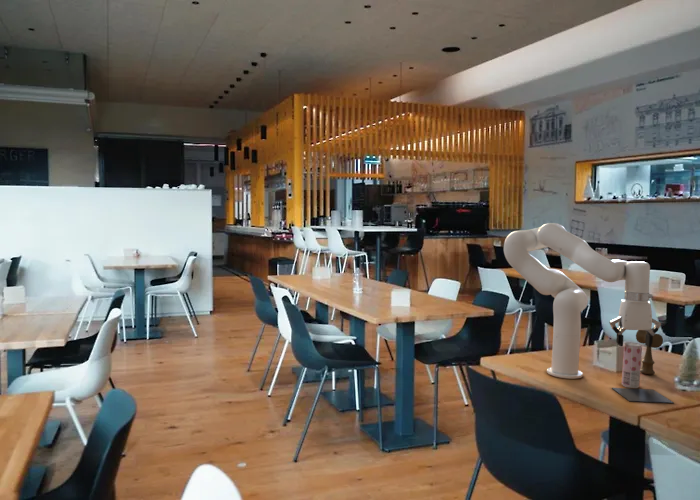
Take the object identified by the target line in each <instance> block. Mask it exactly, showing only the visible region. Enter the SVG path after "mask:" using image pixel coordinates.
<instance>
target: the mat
mask: <svg viewBox="0 0 700 500" xmlns="http://www.w3.org/2000/svg"><path fill="white" fill-rule="evenodd" d="M611 389H612V390H613V391H614V392H615V393H617V394H618V395H620V396H621V397H622V398H623V399H625V400H626V401H628V402H629V403H652V404H675V403H674V402H673V401H672V400H671V399H669V398H668V397H666V396H664V395H662V393H659V392H658V391H656V390H655V389H650V388H649V389H648V388H647V389H646V388H628V387H612V388H611Z"/></svg>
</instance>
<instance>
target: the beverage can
mask: <svg viewBox="0 0 700 500" xmlns="http://www.w3.org/2000/svg"><path fill="white" fill-rule="evenodd" d="M642 345H643V344H642V343H639V342H632V341H630V342H629V341H628V342H627V341H626V342H624V344H623V355H622V357H623V358H622V368H621V369H622V370H621V371H622V372H621V385H622V387H623V388H629V389H639V388H640V385H641V372H640V370H641V369H642V354H643V352H642V351H643V347H642Z"/></svg>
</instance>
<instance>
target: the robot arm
mask: <svg viewBox="0 0 700 500" xmlns="http://www.w3.org/2000/svg"><path fill="white" fill-rule="evenodd" d="M547 248H549V249H551V250H552V251H554V252H556V253H558V254H559V255H561V256H563V257H565V258H566V259H569V260H570V261H572V262H573V263H574V264H575V265H577V266H579V267H580V268H581V269H583V270H584V271H586V272H588V273H589V274H591V275H592V276H595V277H596V278H598V279H600V280H602V281H604V282H607V283H615V282H619V281H625V283H624V299H621V300H620V301H621V302H620V305H619V310H618V316H617V317H615V318H614V319H612V320H609V321H608V323H609V325H610V328H611V329H612V330H613V332H614V333H615V334H616V338H615V339H616V340H615V341H616V344H617V346H619V347H624V332H626V330H627V331H638V330H645V331H646V332H647V334H646V339H645V343H644V345H645V346H646V347H647V346H648V347H651V344H652V343H653V336H654V335H655V333H658V332H659V329H660V328H661V326H662V323H661V322H660V321H658V320H656V319H655V318H653V314H652V313H653V311H652V304H651V302H650V299H652V298H653V296H654V295H653V294H652V293H650V274H651V265H650V264H649V263H648V262H645V261H637V260H635V261H633V260H631V261H627V260H621V259H610V258H608V257H606V256H605V255H603V254H601V253H599V252H598V251H596V250H594V249H593V248H592V247H591V246H590V245H589V244H588V242H587V241H586V240H584V239H583V238H580V237H579V236H577V235H575V234H574V233H572V232H570V231H568V230H566V228H565V227H564V226H563V224H560V223H557V222H547V223H544V224H543V225H541V226H539V227H534V228H531V229H523V230H522V229H520V230H514V231H512V232H510V233H509V234H508V235H507V236H506V238H505V240H504V243H503V254H504V257H505V260H506V261H507V263H508V264H509V265H510V266H511V268H512V269H513V270H515V271H516V272H517V274H519V275H520V276H521V277H522V278H523V279H524V280H525V281H526V282H527V283H528V284H529V285H531V286H532V287H533V288H534V289H535V290H536V291H537V292H538V293H539V294H541V295H543V296H550V295H551V297H552V298H554V299H553V304H552V313H553V328H552V330H553V331H552V348H551V349H552V350H551V366H550V367H547V369H546V373H547V374H548V375H550V376H552V377H556V378H560V379H567V380H568V379H570V380H575V379H581V378H583V376H584V375H583V374H584V373H583V372H582V371H581V370H579V369H580V368H579V366H580V365H579V364H580V349H581V336H582V335H581V333H582V332H581V331H582V318H581V315H582V312H583V311H584V310H585V309H586V308H587V306H588V304H589V300H588V299H589V298H588V295H587V293H585V291H584V290H583V289H582V288H581V287H580V286H578V284H577V283H576V282H574V281H573V280H571V278H569V277H568V276H567V275H566V274H565V273H563V271H560V270H559V269H555V268H548V267H546V266H545V265H544V264H543V263H542V262H540V261H539V260H538V258H536V257H535V256H533V255H532V254H530V252H532V251H537V250H541V249H547ZM616 324H617V325H616ZM653 325H654V326H653ZM617 326H618V327H617ZM651 327H652V329H651ZM651 348H652V347H651Z"/></svg>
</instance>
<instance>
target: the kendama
mask: <svg viewBox="0 0 700 500" xmlns="http://www.w3.org/2000/svg"><path fill="white" fill-rule="evenodd" d="M652 328H653V326H652V327H651V329H652ZM646 334H647V332H646V331H645V330H636V333H635V340H636V341H637V343H638V344H642V345H645V339H646ZM663 343H664V338H663V335H661V334H660V333H658V332H656V333H655V335H654V336H653V343H652V344H651V347H648V346H646V348H645V353H644V357H643V359H641V364H642V365H641V370H640V374H644V375H649V376H651V375H655V374H656V373H655V370H654V364H655V361H654V358H653V352H652V348H654V349H658V348H660V347H662V345H663Z"/></svg>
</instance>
